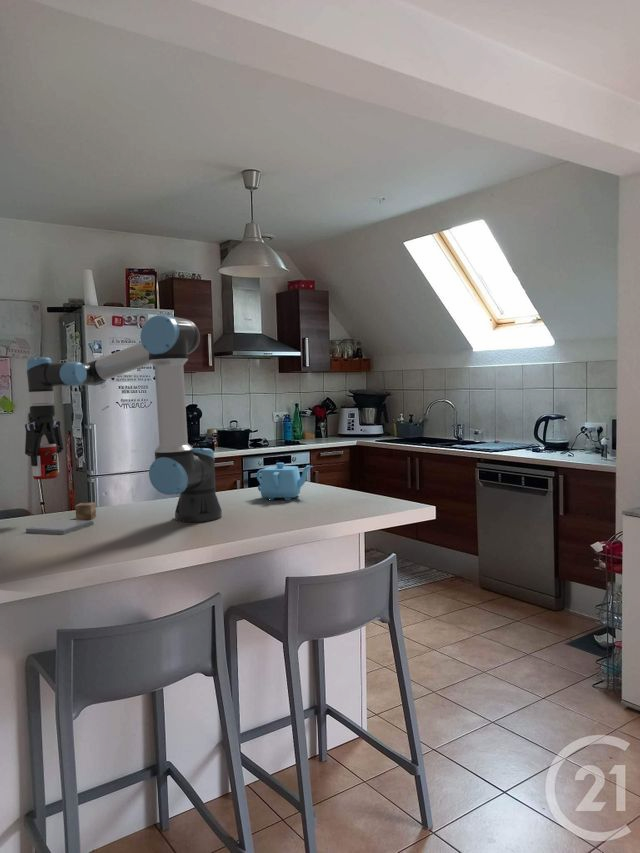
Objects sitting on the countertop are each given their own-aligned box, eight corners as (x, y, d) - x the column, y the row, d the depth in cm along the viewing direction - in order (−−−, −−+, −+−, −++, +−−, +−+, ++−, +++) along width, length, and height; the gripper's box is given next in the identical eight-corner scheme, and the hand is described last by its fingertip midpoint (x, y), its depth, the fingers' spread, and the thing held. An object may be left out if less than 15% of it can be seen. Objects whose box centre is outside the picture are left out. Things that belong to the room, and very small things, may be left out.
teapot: (270, 503, 241) (269, 466, 240) (252, 497, 256) (250, 462, 255) (314, 498, 250) (313, 462, 249) (294, 492, 264) (293, 458, 264)
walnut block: (95, 517, 226) (95, 502, 226) (91, 520, 221) (90, 505, 221) (81, 517, 226) (80, 502, 226) (76, 520, 221) (75, 505, 221)
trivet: (93, 524, 213) (93, 520, 213) (63, 534, 200) (63, 530, 200) (57, 522, 218) (57, 519, 218) (26, 532, 204) (25, 528, 204)
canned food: (49, 479, 215) (47, 445, 215) (27, 479, 217) (25, 446, 216) (63, 476, 223) (61, 443, 222) (42, 476, 225) (40, 443, 224)
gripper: (54, 403, 229) (58, 469, 231) (8, 406, 210) (13, 478, 211) (72, 403, 227) (76, 470, 228) (27, 406, 207) (32, 478, 209)
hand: (46, 474), depth 220 cm, fingers closed on canned food, 8 cm apart
